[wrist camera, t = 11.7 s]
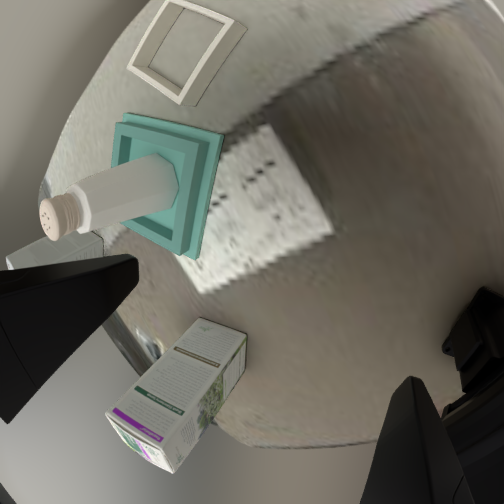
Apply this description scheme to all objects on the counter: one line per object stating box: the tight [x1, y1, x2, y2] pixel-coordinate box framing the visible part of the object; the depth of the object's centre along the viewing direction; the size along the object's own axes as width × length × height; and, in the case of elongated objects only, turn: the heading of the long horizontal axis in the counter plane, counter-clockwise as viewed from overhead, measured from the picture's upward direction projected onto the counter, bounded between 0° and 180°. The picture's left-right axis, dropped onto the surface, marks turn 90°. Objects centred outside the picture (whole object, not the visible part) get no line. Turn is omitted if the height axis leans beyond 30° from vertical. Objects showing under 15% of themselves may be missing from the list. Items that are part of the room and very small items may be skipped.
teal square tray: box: [111, 113, 224, 260], centre depth 23 cm, size 11×11×2 cm
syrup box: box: [105, 318, 247, 474], centre depth 22 cm, size 6×6×14 cm
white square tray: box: [127, 0, 247, 106], centre depth 17 cm, size 8×8×2 cm
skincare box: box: [6, 230, 103, 270], centre depth 27 cm, size 6×4×12 cm
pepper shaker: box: [40, 153, 179, 241], centre depth 18 cm, size 5×5×11 cm
